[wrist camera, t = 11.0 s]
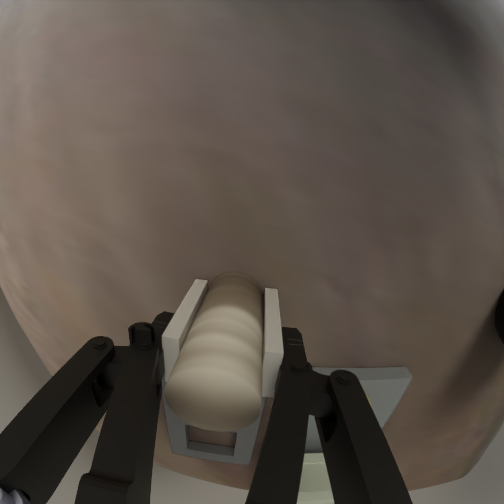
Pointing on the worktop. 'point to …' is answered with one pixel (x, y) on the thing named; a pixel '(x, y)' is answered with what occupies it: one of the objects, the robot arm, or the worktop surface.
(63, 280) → the worktop surface
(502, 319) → the mug
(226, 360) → the pin
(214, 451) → the socket board
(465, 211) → the worktop surface
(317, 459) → the cover
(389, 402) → the board
